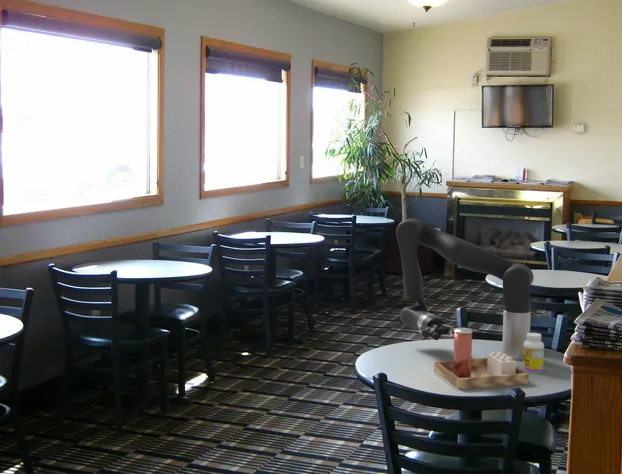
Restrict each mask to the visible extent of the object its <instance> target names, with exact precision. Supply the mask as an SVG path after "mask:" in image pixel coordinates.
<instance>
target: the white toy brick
mask: <svg viewBox="0 0 622 474" xmlns="http://www.w3.org/2000/svg"><path fill="white" fill-rule="evenodd" d="M487 358H488V360H487V372H488V373H490V374H491V375H493V376H497V375H510V374H516V367H517V360H516V361H515V360H513V359H512V357H510V356H508V355H507V354H503V352H502V350H500V351H498V353H497V352H496V351H492V352H491V353H487Z"/></svg>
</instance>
